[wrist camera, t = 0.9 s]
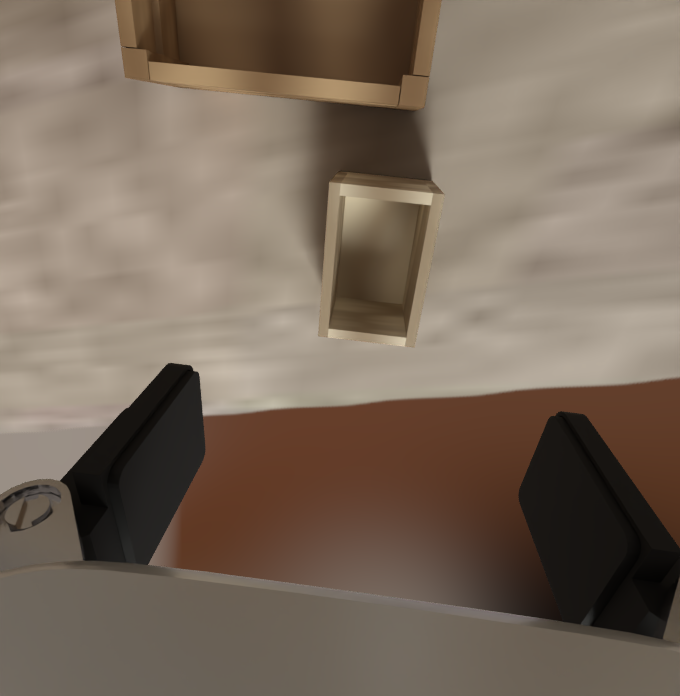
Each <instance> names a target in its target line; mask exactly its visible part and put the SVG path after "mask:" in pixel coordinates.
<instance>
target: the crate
mask: <svg viewBox="0 0 680 696" xmlns="http://www.w3.org/2000/svg"><path fill="white" fill-rule="evenodd" d="M441 1H442V0H115V5H116V13H117V20H118V28H119V35H120V43H121V46H122V47H121V50H122V58H123V65H124V73H125V78H130V79H136V80H141V81H147V82H152V83H157V84H163V85H168V86H174V87H180V88H190V89H200V90H210V91H220V92H230V93H240V94H250V95H260V96H270V97H280V98H290V99H300V100H310V101H320V102H330V103H340V104H350V105H360V106H370V107H380V108H390V109H400V110H410V111H416V110H419V109H421V108H424V106H425V100H426V94H427V88H428V82H429V75H430V69H431V63H432V57H433V51H434V44H435V38H436V32H437V26H438V20H439V13H440V7H441ZM123 47H126V48H123Z"/></svg>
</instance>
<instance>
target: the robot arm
mask: <svg viewBox="0 0 680 696" xmlns="http://www.w3.org/2000/svg"><path fill="white" fill-rule="evenodd" d="M204 455H205V438H204V426H203V413H202V401H201V389H200V377H199V373H198V372H195V371H193V368H192V366H190V365H182V364H174V363H168V364H167V365H166V366H165V367H164V368H163V369H162V371H161V372H160V373H159V374H158V375H157V376H156V377H155V379H154V380H153V381H152V382H151V383H150V384H149V385H148V386H147V388H146V389H145V390H144V391H143V392H142V393H141V394H140V395H139V397H138V398H137V399H136V400H135V401H134V402H133V403H132V404H131V406H130V407H129V408H126V409H125V410H124V411H122V412H121V414H120V415H119V416H118V417H117V418H116V419H115V420H114V421H113V422H112V424H111V425H110V426H109V427H108V428H107V429H106V430H105V431H104V432H103V434H102V435H101V436H100V437H99V438H98V439H97V440H96V441H95V442H94V444H93V445H92V446H91V447H90V448H89V449H88V450H87V451H86V453H85V454H84V455H83V456H82V457H81V458H80V459H79V460H78V462H77V463H76V464H75V465H74V466H73V467H72V468H71V469H70V470H69V471H68V473H67V474H66V475H65V476H64V477H63V478H62V479H61V480H60V481H57V480H52V479H39V480H34V481H29V482H25V483H22V484H20V485H17V486H15V487H13V488H11V489H9V490H7V491H6V492H4V493H2V494H1V495H0V696H680V548H679V547H678V545H677V544H676V542H675V541H674V540H673V538H672V537H671V535H670V534H669V533H668V531H667V530H666V528H665V527H664V525H663V524H662V523H661V521H660V520H659V518H658V517H657V516H656V514H655V513H654V511H653V510H652V509H651V507H650V506H649V504H648V503H647V501H646V500H645V499H644V497H643V496H642V494H641V493H640V491H639V490H638V489H637V487H636V486H635V484H634V483H633V482H632V480H631V479H630V477H629V476H628V475H627V473H626V472H625V470H624V469H623V467H622V466H621V465H620V463H619V462H618V460H617V459H616V458H615V456H614V455H613V453H612V452H611V451H610V449H609V448H608V446H607V445H606V443H605V442H604V441H603V439H602V438H601V436H600V435H599V434H598V432H597V431H596V429H595V428H594V426H593V425H592V424H591V422H590V421H589V420H588V418H587V417H586V416H585V415H583V414H577V413H570V412H562V411H561V412H558V413H557V414H556V416H551V417H550V418H549V419H548V421H547V424H546V426H545V429H544V431H543V433H542V436H541V438H540V441H539V443H538V446H537V448H536V450H535V453H534V455H533V457H532V460H531V462H530V465H529V467H528V470H527V472H526V475H525V477H524V479H523V482H522V484H521V486H520V489H519V502H520V505H521V508H522V510H523V513H524V516H525V519H526V522H527V524H528V527H529V530H530V532H531V535H532V538H533V541H534V543H535V546H536V548H537V551H538V554H539V557H540V559H541V562H542V565H543V567H544V570H545V573H546V576H547V578H548V581H549V584H550V587H551V589H552V592H553V594H554V597H555V600H556V603H557V605H558V608H559V611H560V614H561V616H562V619H563V622H561V621H555V620H548V619H541V618H534V617H527V616H521V615H513V614H506V613H500V612H493V611H486V610H479V609H472V608H465V607H458V606H451V605H444V604H437V603H430V602H423V601H416V600H408V599H401V598H395V597H387V596H380V595H373V594H366V593H359V592H351V591H344V590H337V589H330V588H323V587H315V586H307V585H301V584H293V583H286V582H277V581H271V580H263V579H255V578H248V577H240V576H233V575H226V574H218V573H211V572H203V571H194V570H185V569H177V568H168V567H160V566H152V565H148V564H149V562H150V560H151V558H152V556H153V554H154V552H155V550H156V548H157V546H158V545H159V543H160V541H161V539H162V537H163V535H164V533H165V531H166V529H167V528H168V526H169V524H170V522H171V520H172V518H173V516H174V514H175V512H176V511H177V509H178V506H179V505H180V503H181V501H182V499H183V497H184V495H185V493H186V492H187V490H188V488H189V486H190V484H191V482H192V480H193V478H194V476H195V474H196V472H197V471H198V469H199V467H200V465H201V463H202V461H203V458H204Z"/></svg>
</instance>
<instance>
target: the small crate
mask: <svg viewBox="0 0 680 696" xmlns="http://www.w3.org/2000/svg"><path fill="white" fill-rule="evenodd" d="M444 196H445V194H444V193H443V192H442V191H441V190H440V189H439V188H438V187H437V186H436V184H435V183H434V182H433V181H430V180H420V179H411V178H401V177H392V176H382V175H373V174H363V173H354V172H344V171H339V172H338V173H337V174H336V175H335V176H334V177H333V179H332V180H331V181H330V182H329V192H328V206H327V220H326V234H325V248H324V262H323V276H322V290H321V304H320V318H319V332H318V336H321V337H329V338H338V339H346V340H355V341H363V342H372V343H380V344H388V345H397V346H405V347H415V342H416V337H417V332H418V327H419V322H420V317H421V312H422V307H423V302H424V297H425V292H426V287H427V282H428V277H429V272H430V267H431V262H432V257H433V252H434V247H435V242H436V237H437V231H438V226H439V221H440V216H441V211H442V206H443V201H444Z"/></svg>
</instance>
